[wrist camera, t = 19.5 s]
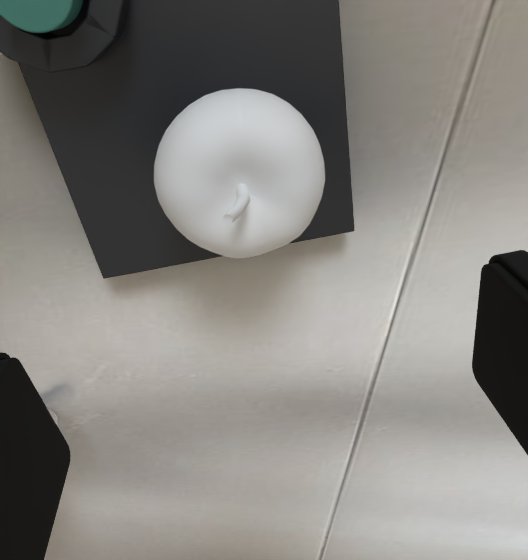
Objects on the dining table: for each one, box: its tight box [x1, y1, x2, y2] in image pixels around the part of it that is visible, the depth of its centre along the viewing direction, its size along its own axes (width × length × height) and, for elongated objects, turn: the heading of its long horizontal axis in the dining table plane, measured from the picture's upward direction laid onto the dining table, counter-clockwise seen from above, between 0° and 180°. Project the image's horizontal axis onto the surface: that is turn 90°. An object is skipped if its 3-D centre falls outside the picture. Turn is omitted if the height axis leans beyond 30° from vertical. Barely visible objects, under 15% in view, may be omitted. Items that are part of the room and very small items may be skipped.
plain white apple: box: [154, 88, 325, 259], centre depth 20 cm, size 7×7×8 cm
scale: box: [0, 0, 354, 278], centre depth 22 cm, size 16×14×4 cm
